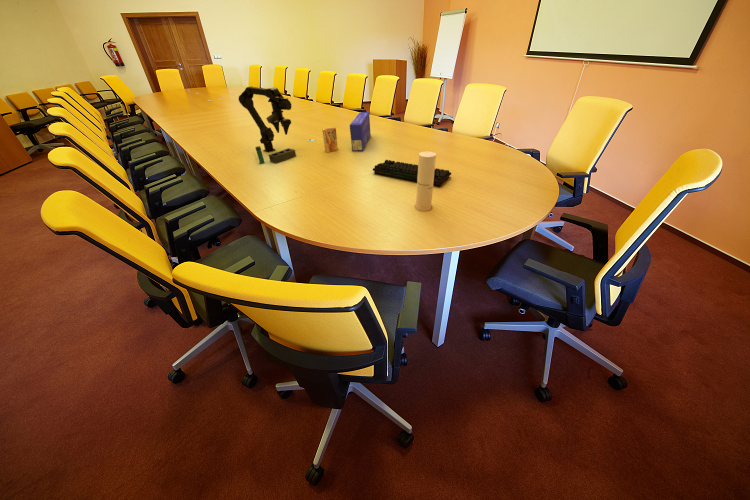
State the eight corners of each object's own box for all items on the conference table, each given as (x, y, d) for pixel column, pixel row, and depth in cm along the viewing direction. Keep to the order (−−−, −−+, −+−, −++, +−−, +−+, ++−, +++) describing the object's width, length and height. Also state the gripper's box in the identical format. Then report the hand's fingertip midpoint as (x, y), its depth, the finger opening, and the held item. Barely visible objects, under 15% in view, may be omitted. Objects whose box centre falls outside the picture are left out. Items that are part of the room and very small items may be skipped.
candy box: (335, 148, 213) (332, 126, 204) (338, 149, 210) (335, 127, 201) (324, 151, 208) (321, 128, 199) (328, 152, 206) (325, 130, 197)
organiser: (270, 161, 194) (268, 155, 192) (290, 154, 205) (288, 148, 202) (276, 163, 191) (274, 156, 188) (296, 156, 202) (294, 149, 199)
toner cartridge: (360, 136, 237) (359, 111, 226) (370, 136, 236) (369, 111, 225) (351, 151, 206) (349, 124, 195) (363, 151, 205) (361, 124, 194)
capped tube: (258, 163, 193) (254, 147, 186) (262, 161, 195) (258, 145, 188) (261, 164, 191) (257, 148, 185) (265, 162, 193) (261, 146, 187)
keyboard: (451, 177, 163) (452, 168, 160) (440, 188, 152) (441, 179, 149) (386, 165, 182) (386, 157, 179) (372, 174, 170) (372, 166, 168)
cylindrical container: (414, 204, 139) (417, 152, 124) (429, 203, 139) (433, 151, 124) (417, 211, 133) (420, 157, 118) (432, 210, 133) (437, 156, 118)
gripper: (258, 110, 192) (264, 134, 201) (274, 113, 182) (280, 138, 192) (272, 107, 199) (278, 130, 208) (289, 110, 189) (294, 134, 198)
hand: (282, 133), depth 201 cm, fingers open, 9 cm apart
